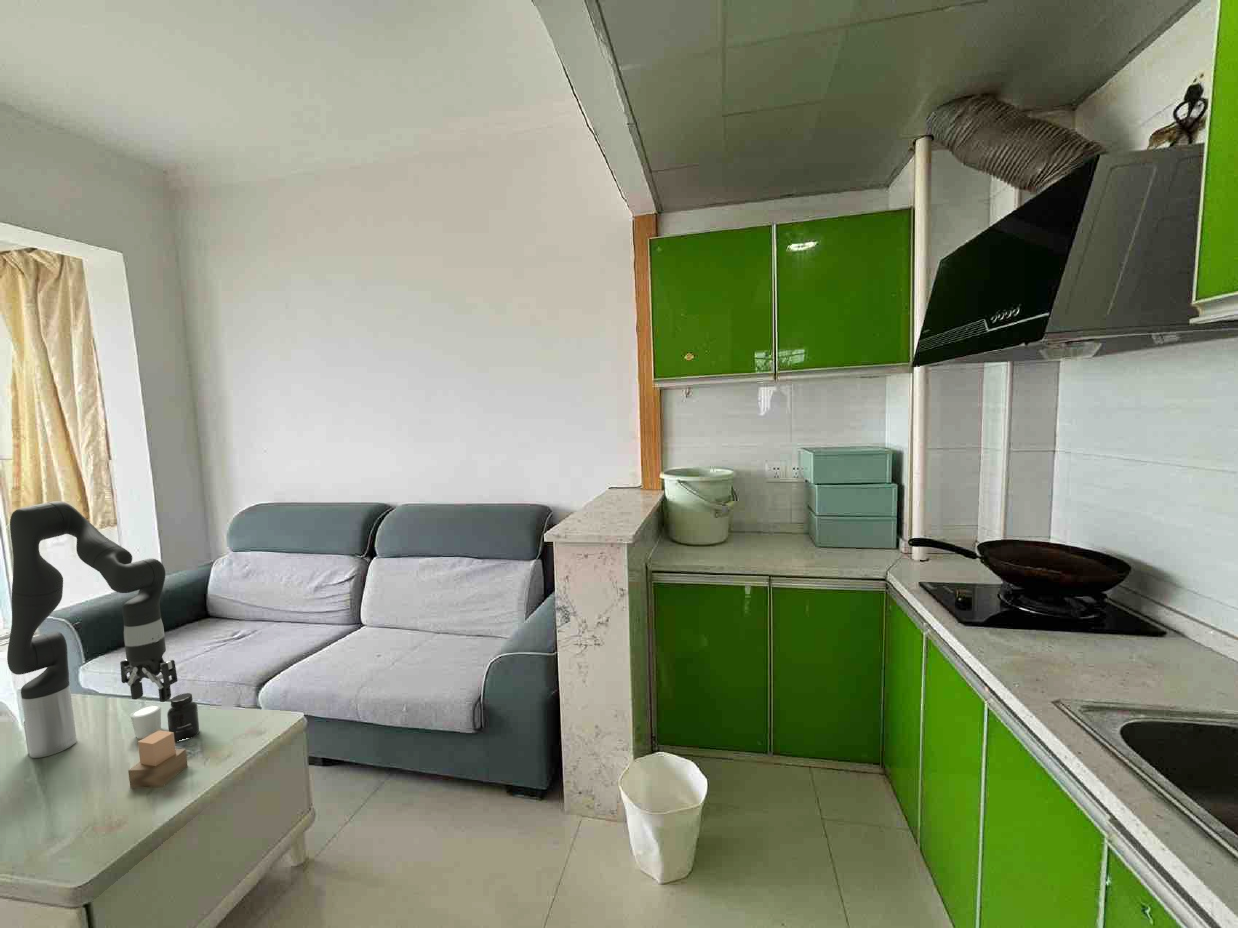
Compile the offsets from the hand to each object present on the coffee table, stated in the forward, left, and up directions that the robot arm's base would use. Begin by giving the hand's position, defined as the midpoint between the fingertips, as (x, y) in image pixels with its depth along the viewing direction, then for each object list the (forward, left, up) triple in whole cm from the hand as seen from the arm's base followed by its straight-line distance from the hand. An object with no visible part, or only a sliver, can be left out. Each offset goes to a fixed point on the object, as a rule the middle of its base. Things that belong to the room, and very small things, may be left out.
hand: (151, 699), depth 134 cm
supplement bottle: (-11, +16, -21) cm, 29 cm away
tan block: (0, 0, -16) cm, 16 cm away
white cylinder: (-24, +16, -21) cm, 36 cm away
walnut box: (0, 0, -21) cm, 21 cm away
